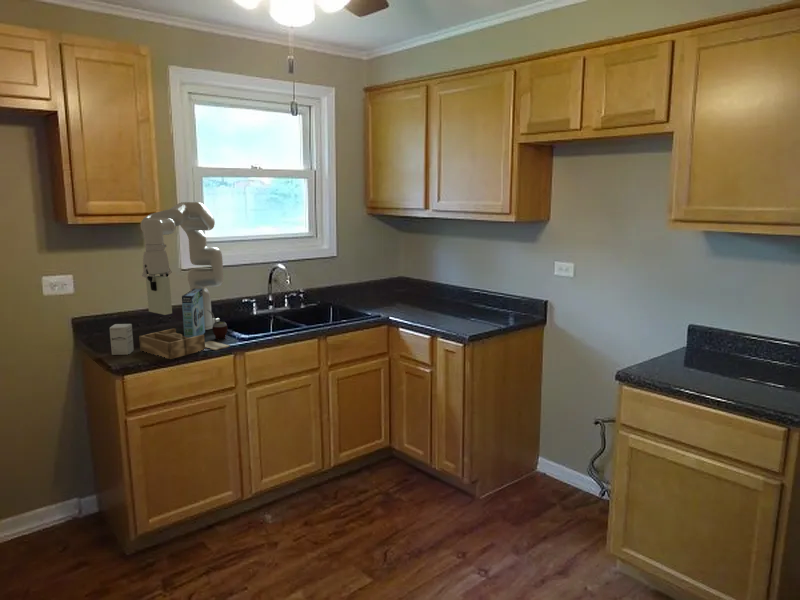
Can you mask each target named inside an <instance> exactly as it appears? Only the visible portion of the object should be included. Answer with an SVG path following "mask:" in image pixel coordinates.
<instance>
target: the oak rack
mask: <svg viewBox="0 0 800 600" xmlns="http://www.w3.org/2000/svg"><path fill="white" fill-rule="evenodd" d="M170 333H177V328H176V327H175V328H170V329H165V330H161V331H156V332H150V333H147V334H143V335H138V340H139V351H140V352H142V351H144V352H143V353H146V352H147V354H149V353H151V354H150V355H153V354H155V355H154V356H157V355H159V356H158V357H160V356H162V357H161V358H164V357H165V359H167V360H168V359H169V360H172V359H177V358H180V357H183V356H187V355H191V354H194V353H198V351H199V352H202V351H201V350H203V351H205V350H206V348H205V342H206V340H205V334H203V335H198V336H194V337H190V338H188V337H184V335H182V338H178V337H174V336H170V335H166V334H170ZM204 349H205V350H204Z"/></svg>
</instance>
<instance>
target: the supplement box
mask: <svg viewBox="0 0 800 600" xmlns="http://www.w3.org/2000/svg"><path fill="white" fill-rule="evenodd" d="M133 335H134V334H133V324H132V323H115V324H113V325H111V326H110V327H109V339H110V348H111V355H112V356H114V355H118V356H119V355H120V356H121V355H122V356H124V355H126V356H127V355H128V354H129V355H130V354H131V353H132V352H134V338H133V337H134V336H133ZM129 355H128V356H129Z"/></svg>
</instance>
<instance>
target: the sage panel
mask: <svg viewBox="0 0 800 600" xmlns="http://www.w3.org/2000/svg"><path fill="white" fill-rule="evenodd" d="M170 279H171V278H170V277H169V276H168V277H164V276H160V275H158V274H156V275H155V282H156V287H157V291H152V290H151V286H150V281H149V280H148V279H147V278H145V284H146V295H147V306H148V308H147V309H148V312H150V313H154V314H159V315H163V316H166V315H171V314H173V305H172V294H171V283H170V282H171V281H170Z"/></svg>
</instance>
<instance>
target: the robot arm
mask: <svg viewBox="0 0 800 600" xmlns="http://www.w3.org/2000/svg"><path fill="white" fill-rule="evenodd" d="M215 225H216V224H215V218H214V215H213V214H212V213H211V212H210V210H209V208H208V207H207V206H206V205H205V204H203V203H202V202H198V201H189V202H188V201H185V202H183V201H182V202H179V203H177V204H176V205H173V206H172V207H170V208H169V209H164V210H161V211H157V212H153V213H152V212H151V213H150V214H148V215H146V216H145V217H144V218H142V219H141V222H140V230H141V231H142V233H143V235H144V244H145V245H144V246H145V251H144V252H143V256H142V271H143V272H142V274H141V276H142V277H143V278H145V279H146V278H147V279H148V280H149V281H150V286H151V290H152V291H157V287H156V282H155V275H159V276H164V277H169V275H171V274H172V270H171V268H170V263H169V257H168V254H167V250H165V248H167V244H165V239H164V237H165V236H169V235H172V234H173V233H174V232H175V231H176V228H177V227H179V226H180V228H182V229H183V231H184V233H185V234H186V236H187V238H188V248H189V250H188V251H189V260H190V264H192V265H194V266H209V267H196V268H191V269H190V270H189V271H188V272H187V281H188V285H189V289H190V290H189V291H191V290H192V289H202V292H203V308H204V325H205V331H209V330H212V328H213V324H214V323H215V320H216V322H221V321H220V320H221V319H220V318H219V317H217V318H215V320H214V318H213V316H212V315H211V313H210V312H209V311H211V312H212V301H211V298H212V297H211V293H210V290H209V289H208V288H207V287H215V288H216V287H220V286H221V285H222V284H223V283H224V263H223V254H222V251H221V249H220V248H218V247H217V246H207V245H208V243H207V236H206V234H205V233H204V231H211V230H213V229H214V227H215ZM207 310H209V311H207Z"/></svg>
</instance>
